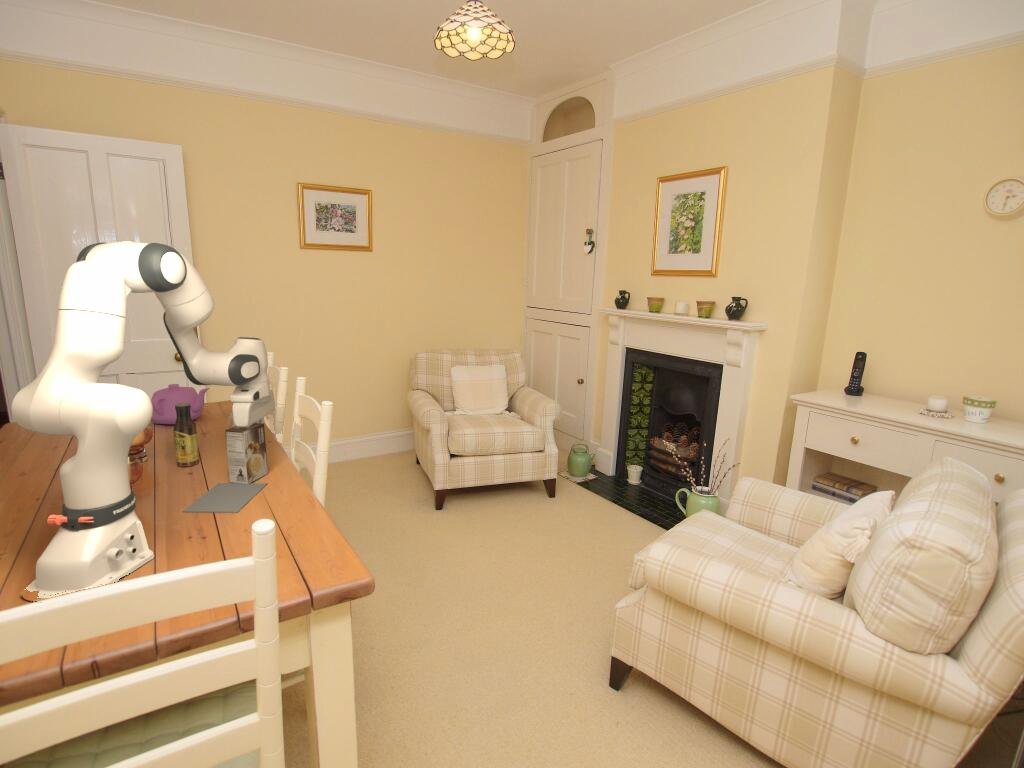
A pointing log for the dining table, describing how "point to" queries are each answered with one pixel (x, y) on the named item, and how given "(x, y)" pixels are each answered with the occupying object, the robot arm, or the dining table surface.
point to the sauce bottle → (185, 437)
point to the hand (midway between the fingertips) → (258, 433)
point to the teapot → (174, 395)
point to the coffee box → (246, 453)
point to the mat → (226, 498)
